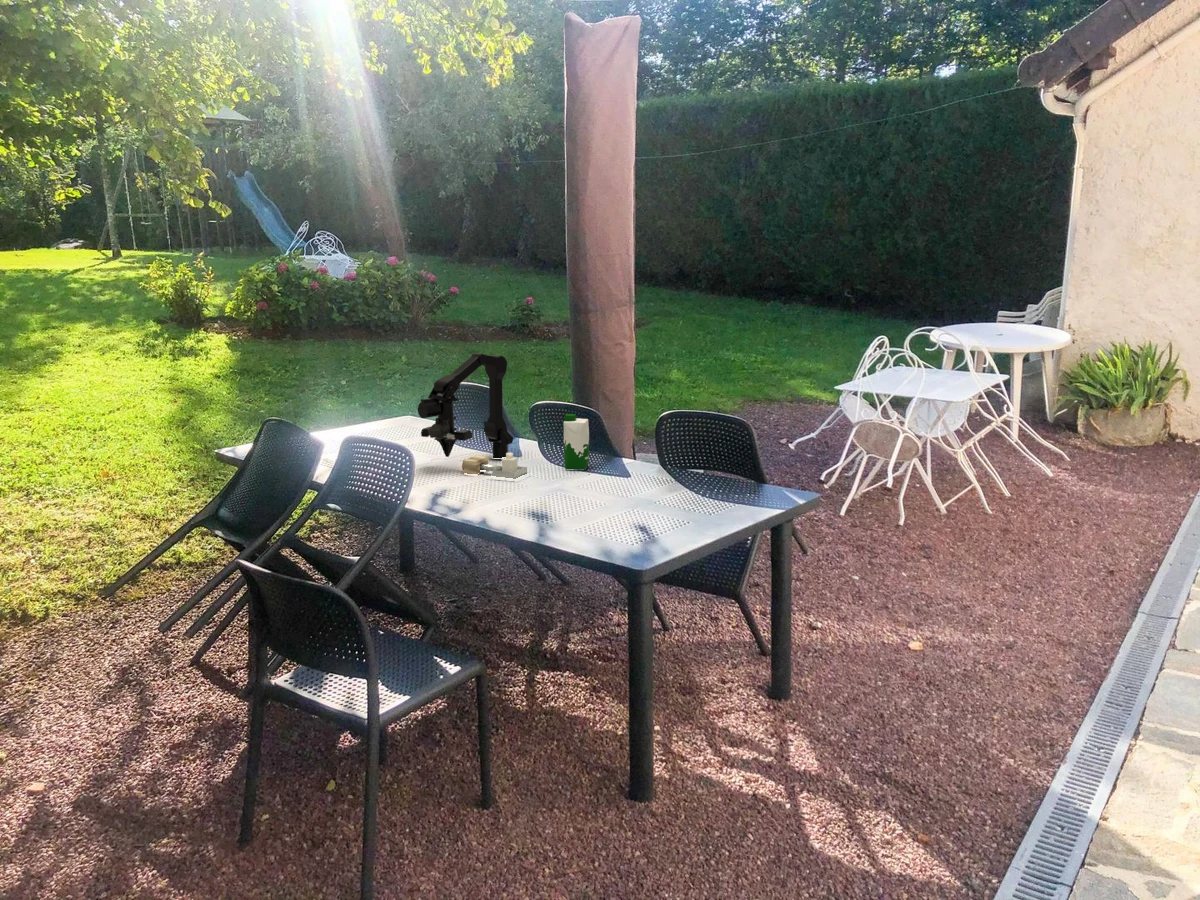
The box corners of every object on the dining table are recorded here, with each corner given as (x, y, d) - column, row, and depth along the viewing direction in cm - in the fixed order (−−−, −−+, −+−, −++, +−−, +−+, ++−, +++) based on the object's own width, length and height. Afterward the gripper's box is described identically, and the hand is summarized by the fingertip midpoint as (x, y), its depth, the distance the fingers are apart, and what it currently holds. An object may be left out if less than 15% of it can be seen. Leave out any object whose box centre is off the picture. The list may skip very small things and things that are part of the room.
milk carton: (566, 465, 354) (566, 412, 349) (590, 466, 352) (590, 412, 348) (562, 470, 345) (561, 416, 341) (586, 471, 344) (586, 417, 339)
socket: (504, 471, 344) (503, 463, 344) (533, 474, 339) (532, 466, 339) (486, 479, 334) (486, 470, 333) (516, 482, 329) (516, 474, 328)
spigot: (507, 473, 339) (507, 451, 337) (517, 474, 338) (517, 452, 336) (502, 475, 336) (501, 453, 334) (512, 477, 334) (511, 454, 332)
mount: (476, 469, 347) (476, 455, 346) (488, 471, 345) (488, 456, 344) (463, 475, 340) (463, 460, 338) (475, 476, 338) (475, 461, 336)
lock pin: (468, 469, 346) (468, 458, 345) (503, 473, 340) (503, 461, 339) (462, 472, 342) (461, 460, 341) (497, 476, 336) (497, 464, 335)
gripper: (411, 416, 339) (413, 458, 343) (455, 420, 332) (456, 463, 335) (429, 411, 349) (430, 452, 353) (472, 414, 342) (473, 457, 345)
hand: (447, 456), depth 346 cm, fingers closed
